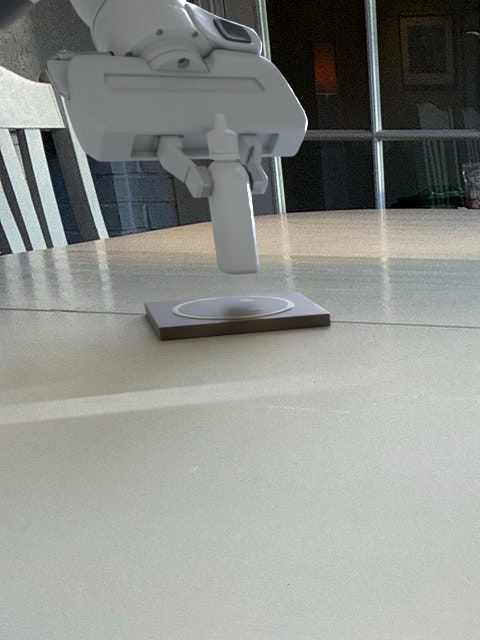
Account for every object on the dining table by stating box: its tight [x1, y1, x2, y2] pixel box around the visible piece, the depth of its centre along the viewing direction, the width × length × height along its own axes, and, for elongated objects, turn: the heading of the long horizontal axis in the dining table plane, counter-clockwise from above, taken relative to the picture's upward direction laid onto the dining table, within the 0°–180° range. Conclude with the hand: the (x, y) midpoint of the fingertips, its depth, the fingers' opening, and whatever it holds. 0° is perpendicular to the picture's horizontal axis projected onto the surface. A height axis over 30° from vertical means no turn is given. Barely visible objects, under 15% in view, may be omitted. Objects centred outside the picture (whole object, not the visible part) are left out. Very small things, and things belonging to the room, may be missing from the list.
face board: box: [143, 290, 332, 341], centre depth 79 cm, size 14×12×1 cm
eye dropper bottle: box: [207, 113, 260, 275], centre depth 76 cm, size 4×6×12 cm
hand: (233, 190), depth 76 cm, fingers closed on eye dropper bottle, 4 cm apart
